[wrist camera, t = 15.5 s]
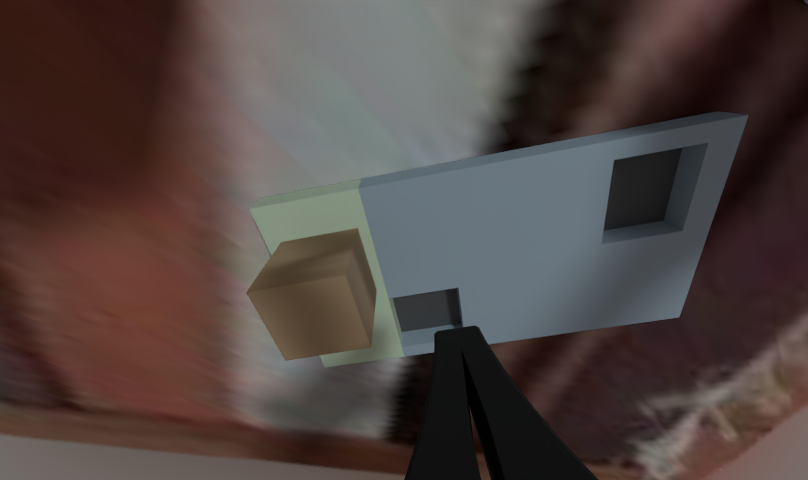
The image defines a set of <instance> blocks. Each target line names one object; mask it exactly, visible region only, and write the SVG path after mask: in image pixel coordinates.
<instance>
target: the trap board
mask: <svg viewBox="0 0 808 480" xmlns="http://www.w3.org/2000/svg"><path fill="white" fill-rule="evenodd" d="M748 116H749V115H745V114H737V113H729V112H720V111H716V112H710V113H705V114H700V115H695V116H689V117H684V118H679V119H674V120H669V121H663V122H658V123H653V124H648V125H642V126H637V127H632V128H627V129H621V130H616V131H611V132H606V133H600V134H595V135H590V136H585V137H579V138H574V139H569V140H564V141H558V142H553V143H548V144H543V145H537V146H532V147H527V148H522V149H517V150H511V151H506V152H501V153H496V154H490V155H485V156H480V157H475V158H469V159H464V160H459V161H454V162H448V163H443V164H438V165H433V166H427V167H422V168H417V169H412V170H406V171H401V172H396V173H391V174H385V175H380V176H375V177H370V178H365V179H359V180H354V181H349V182H344V183H338V184H333V185H328V186H323V187H317V188H312V189H307V190H302V191H296V192H291V193H286V194H281V195H275V196H270V197H265V198H261V199H260V200H259V201H258V202H257V203H256V204H254V205H253V206H252V207H251V208H250V211H251V213H252V216H253V218H254V220H255V222H256V224H257V226H258V228H259V230H260V232H261V234H262V237H263V239H264V241H265V243H266V245H267V247H268V249H269V251H270V253H271V255H273V253H274V252H275V250H276V249H277V247H278V246H279V244H280V243H281V242H284V241H290V240H295V239H300V238H306V237H311V236H317V235H322V234H327V233H333V232H338V231H344V230H349V229H355V228H358V230H359V234H360V237H361V240H362V243H363V247H364V250H365V253H366V257H367V260H368V263H369V266H370V270H371V273H372V276H373V280H374V283H375V286H376V290H377V294H376V304H375V314H374V324H373V334H372V344H371V348H365V349H359V350H352V351H345V352H339V353H332V354H326V355H319V356H320V358H321V360H322V362H323V365H324V367H325V368H326V367H333V366H340V365H347V364H354V363H361V362H368V361H375V360H382V359H389V358H396V357H403V356H410V355H417V354H425V353H432V352H434V334H435V333H436V332H437V331H441V330H447V329H454V328H461V327H468V326H474V325H476V326H477V327H479V328H480V330H481V332H482V334H483V336H484V338H485V340H486V341H487V343H488V344H495V343H502V342H509V341H516V340H523V339H530V338H537V337H544V336H551V335H558V334H565V333H572V332H579V331H586V330H593V329H600V328H607V327H614V326H621V325H628V324H635V323H642V322H649V321H656V320H663V319H670V318H677V317H679V316H680V314H681V311H682V308H683V305H684V302H685V299H686V296H687V293H688V290H689V287H690V284H691V282H692V279H693V276H694V273H695V270H696V267H697V264H698V261H699V258H700V255H701V253H702V250H703V247H704V244H705V241H706V238H707V235H708V232H709V229H710V226H711V223H712V221H713V218H714V215H715V212H716V209H717V206H718V203H719V200H720V197H721V194H722V192H723V189H724V186H725V183H726V180H727V177H728V174H729V171H730V168H731V165H732V162H733V160H734V157H735V154H736V151H737V148H738V145H739V142H740V139H741V136H742V133H743V131H744V128H745V125H746V122H747V119H748Z"/></svg>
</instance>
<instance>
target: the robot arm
mask: <svg viewBox="0 0 808 480" xmlns="http://www.w3.org/2000/svg"><path fill="white" fill-rule="evenodd" d="M804 2H805V3H807V4H808V0H804ZM469 406H470V409H471V413H472V416H473V420H474V423H475V426H476V430H477V433H478V437H479V440H480V443H481V447H482V450H483V454H484V457H485V460H486V464H487V467H488V471H489V474H490V477H491V480H598V479H597V478H596V477H595V476H594V474H593V473H592V472H591V471H590V470H589V469H588V468H587V467H586V466H585V465H584V464H583V463H582V462H581V461H580V460H579V459H578V458H577V457H576V456H575V454H574V453H573V452H572V451H571V450H570V449H569V448H568V447H567V446H566V445H565V443H564V442H563V441H562V440H561V439H560V438H559V437H558V436H557V435H556V433H555V432H554V431H553V430H552V429H551V428H550V426H549V425H548V424H547V423H546V422H545V421H544V419H543V418H542V417H541V416H540V415H539V413H538V412H537V411H536V410H535V408H534V407H533V406H532V405H531V404H530V402H529V401H528V400H527V399H526V397H525V396H524V395H523V393H522V392H521V391H520V390H519V388H518V387H517V385H516V384H515V383H514V381H513V380H512V379H511V377H510V376H509V375H508V373H507V372H506V371H505V369H504V368H503V366H502V365H501V363H500V362H499V360H498V359H497V357H496V356H495V354H494V353H493V351H492V350H491V348H490V346H489V345H488V343H487V341H486V340H485V338H484V336H483V334H482V332H481V330H480V328H479V327H477V326H476V325H474V326H468V327H461V328H454V329H447V330H441V331H437V332H436V333H435V334H434V357H433V366H432V373H431V379H430V384H429V390H428V395H427V400H426V405H425V409H424V413H423V417H422V421H421V425H420V429H419V433H418V437H417V440H416V444H415V447H414V451H413V454H412V457H411V461H410V464H409V467H408V470H407V473H406V476H405V479H404V480H481V478H480V473H479V468H478V463H477V458H476V454H475V449H474V442H473V434H472V425H471V417H470V409H469Z"/></svg>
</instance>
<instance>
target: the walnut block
mask: <svg viewBox="0 0 808 480" xmlns="http://www.w3.org/2000/svg"><path fill="white" fill-rule="evenodd" d="M246 293H247V295H248V296H249V298H250V300H251V302H252V303H253V305H254V307H255V308H256V310H257V312H258V314H259V315H260V317H261V319H262V321H263V322H264V324H265V326H266V328H267V329H268V331H269V333H270V335H271V336H272V338H273V340H274V342H275V343H276V345H277V347H278V349H279V350H280V352H281V354H282V356H283V357H284V359H285V361H286V360H293V359H299V358H306V357H312V356H319V355H326V354H332V353H339V352H345V351H352V350H359V349H365V348H371V344H372V334H373V324H374V314H375V304H376V294H377V290H376V286H375V283H374V280H373V276H372V273H371V270H370V266H369V263H368V260H367V257H366V253H365V250H364V247H363V243H362V240H361V237H360V234H359V230H358V228H355V229H349V230H344V231H338V232H333V233H327V234H322V235H317V236H311V237H306V238H300V239H295V240H290V241H284V242H281V243H280V244H279V246H278V247H277V249H276V250H275V252H274V253H273V255H272V256H271V258H270V259H269V260H268V262H267V263H266V265H265V266H264V268H263V269H262V271H261V272H260V273H259V275H258V276H257V278H256V279H255V281H254V282H253V284H252V285H251V286H250V288H249V289H248V291H247V292H246Z"/></svg>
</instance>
